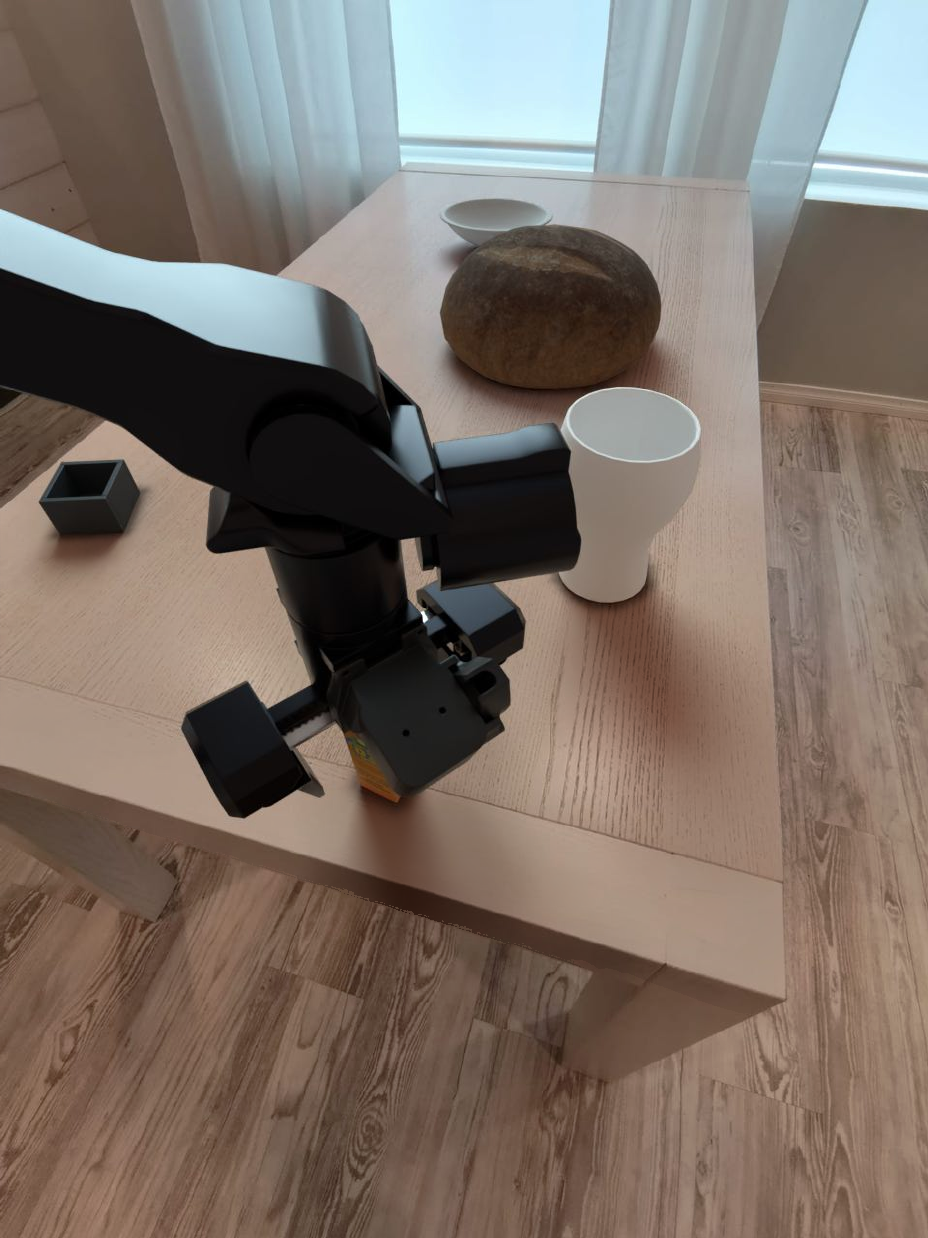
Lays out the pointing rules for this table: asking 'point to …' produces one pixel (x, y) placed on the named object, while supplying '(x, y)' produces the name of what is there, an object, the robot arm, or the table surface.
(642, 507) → the cup
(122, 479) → the trash bin
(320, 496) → the robot arm
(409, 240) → the table surface
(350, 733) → the supplement box
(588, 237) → the bread
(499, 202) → the dish
